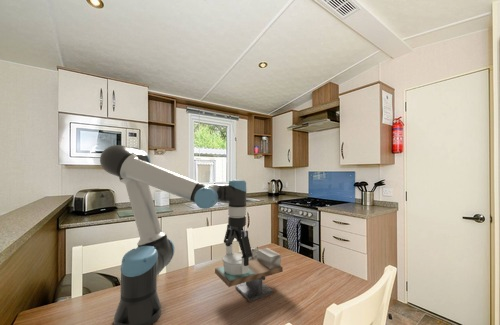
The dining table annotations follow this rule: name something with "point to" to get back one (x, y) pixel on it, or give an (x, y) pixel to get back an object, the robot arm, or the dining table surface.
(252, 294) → the fulcrum
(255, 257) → the grey lumpy piece
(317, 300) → the dining table surface
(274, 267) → the beam
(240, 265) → the ramekin
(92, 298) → the dining table surface
